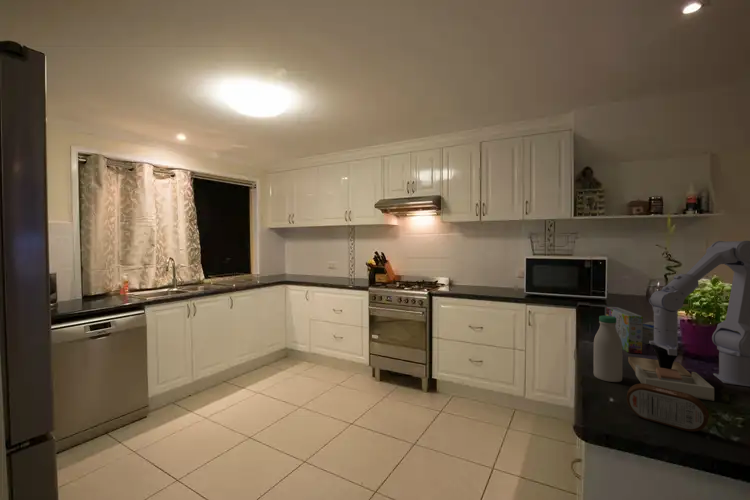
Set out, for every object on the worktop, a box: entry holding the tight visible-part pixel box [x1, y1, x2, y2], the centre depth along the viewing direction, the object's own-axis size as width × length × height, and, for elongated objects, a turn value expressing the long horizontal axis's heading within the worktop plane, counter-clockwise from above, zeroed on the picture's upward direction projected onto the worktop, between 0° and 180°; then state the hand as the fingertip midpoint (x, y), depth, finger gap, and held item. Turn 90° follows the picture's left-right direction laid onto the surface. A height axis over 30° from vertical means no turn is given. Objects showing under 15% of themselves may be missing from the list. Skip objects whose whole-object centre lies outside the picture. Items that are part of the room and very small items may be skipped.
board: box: [627, 355, 692, 377], centre depth 114 cm, size 14×14×2 cm
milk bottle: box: [593, 315, 623, 383], centre depth 108 cm, size 8×8×20 cm
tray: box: [635, 365, 715, 402], centre depth 101 cm, size 15×13×4 cm
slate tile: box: [661, 378, 684, 383], centre depth 99 cm, size 5×5×2 cm
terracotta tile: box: [656, 367, 682, 380], centre depth 104 cm, size 5×5×2 cm
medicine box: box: [642, 321, 655, 346], centre depth 146 cm, size 8×4×9 cm, turn 120°
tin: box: [626, 383, 710, 432], centre depth 81 cm, size 15×3×8 cm, turn 45°
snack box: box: [605, 306, 644, 355], centre depth 142 cm, size 21×6×15 cm, turn 167°
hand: (665, 371), depth 107 cm, fingers closed
